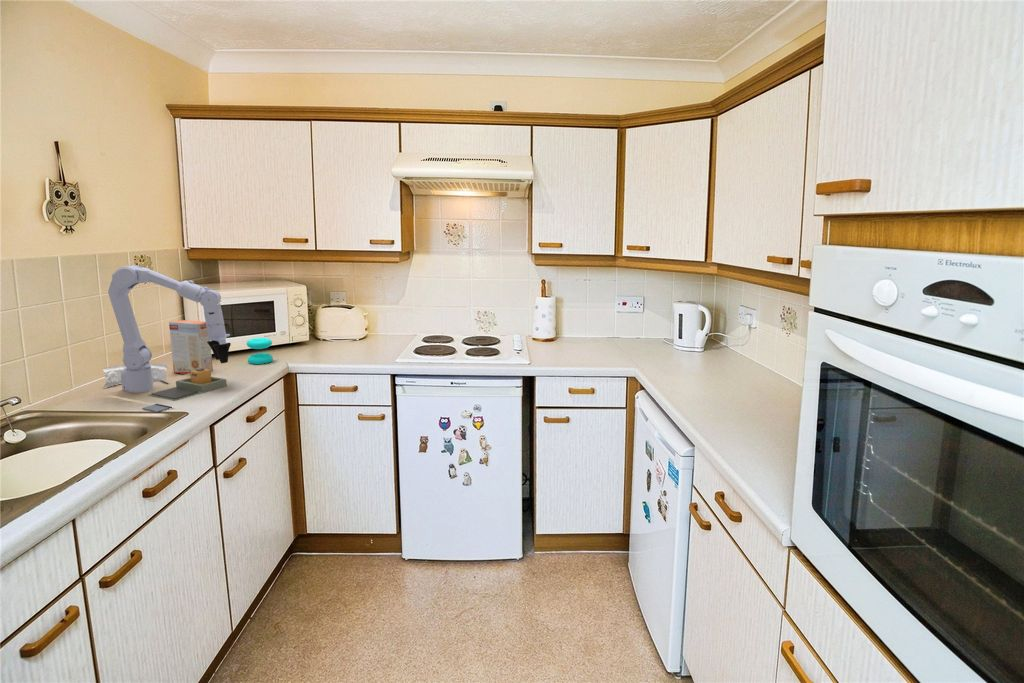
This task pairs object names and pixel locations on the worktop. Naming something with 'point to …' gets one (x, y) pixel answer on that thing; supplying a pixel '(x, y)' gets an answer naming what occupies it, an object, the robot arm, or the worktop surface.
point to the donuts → (259, 344)
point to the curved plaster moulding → (115, 372)
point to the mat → (156, 407)
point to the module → (201, 376)
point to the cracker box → (190, 346)
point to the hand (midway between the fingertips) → (221, 361)
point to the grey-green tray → (189, 389)
